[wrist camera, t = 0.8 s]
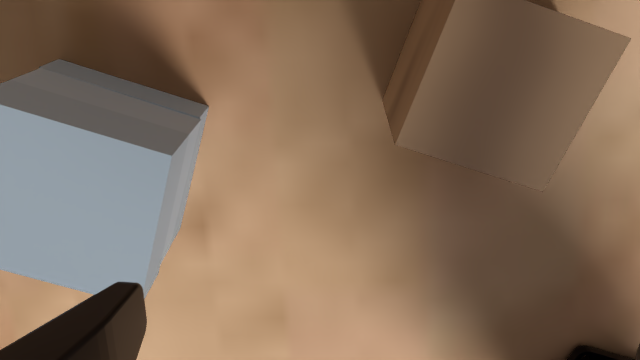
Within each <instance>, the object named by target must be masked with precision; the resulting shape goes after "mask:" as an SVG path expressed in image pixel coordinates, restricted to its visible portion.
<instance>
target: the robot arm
mask: <svg viewBox="0 0 640 360" xmlns="http://www.w3.org/2000/svg"><path fill="white" fill-rule="evenodd" d="M146 325H147V319H146V310H145V302H144V293H143V288H142V286H141V285H140V284H139V283H136V282H116V283H114V284H112V285H110V286H109V287H107V288H105V289H104V290H102V291H100V292H99V293H97V294H95V295H93V296H92V297H90V298H88V299H87V300H85V301H83V302H81V303H80V304H78V305H76V306H75V307H73V308H71V309H69V310H68V311H66V312H64V313H63V314H61V315H59V316H58V317H56V318H54V319H52V320H51V321H49V322H47V323H46V324H44V325H42V326H40V327H39V328H37V329H35V330H34V331H32V332H30V333H28V334H27V335H25V336H23V337H22V338H20V339H18V340H17V341H15V342H13V343H11V344H10V345H8V346H6V347H5V348H3V349H1V350H0V360H136V359H137V356H138V353H139V350H140V347H141V344H142V341H143V338H144V335H145V331H146ZM583 356H585V357H583ZM567 360H635V359H631V358H628V357H624V356H621V355H617V354H614V353H610V352H607V351H603V350H600V349H596V348H593V347H590V346H579V347H577V348H575V349H574V350H573V352H572V353H571V354H570V356H569V357H568V359H567ZM636 360H640V344H639V347H638V349H637V353H636Z"/></svg>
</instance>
